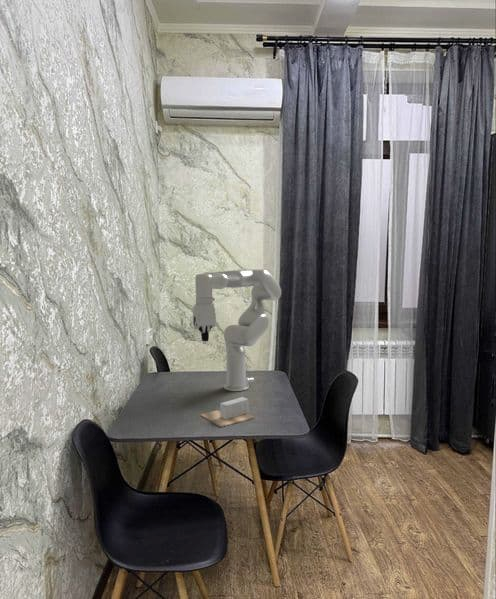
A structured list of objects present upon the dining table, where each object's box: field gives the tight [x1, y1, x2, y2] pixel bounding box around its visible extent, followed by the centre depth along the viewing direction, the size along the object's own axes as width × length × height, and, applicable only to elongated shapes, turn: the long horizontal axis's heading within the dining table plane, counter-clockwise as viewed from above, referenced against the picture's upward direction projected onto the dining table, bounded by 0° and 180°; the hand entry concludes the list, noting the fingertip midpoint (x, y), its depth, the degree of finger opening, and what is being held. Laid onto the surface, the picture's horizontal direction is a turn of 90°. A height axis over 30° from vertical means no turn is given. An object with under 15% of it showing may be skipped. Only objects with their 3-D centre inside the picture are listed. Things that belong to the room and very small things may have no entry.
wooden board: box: [200, 409, 255, 428], centre depth 184 cm, size 16×16×1 cm
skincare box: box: [219, 396, 250, 420], centre depth 185 cm, size 6×4×12 cm
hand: (205, 340), depth 206 cm, fingers closed
